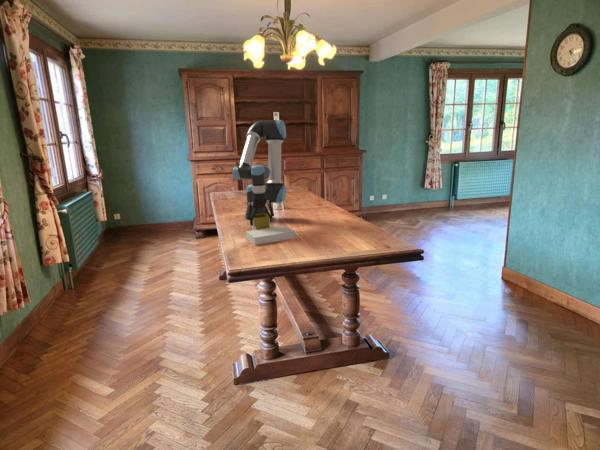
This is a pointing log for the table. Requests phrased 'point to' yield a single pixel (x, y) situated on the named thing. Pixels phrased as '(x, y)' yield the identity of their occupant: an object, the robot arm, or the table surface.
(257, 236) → the white stand
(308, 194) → the table surface
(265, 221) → the flower pot
